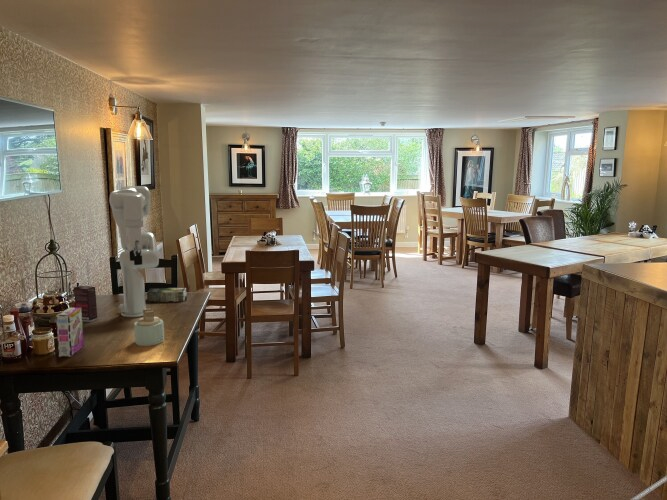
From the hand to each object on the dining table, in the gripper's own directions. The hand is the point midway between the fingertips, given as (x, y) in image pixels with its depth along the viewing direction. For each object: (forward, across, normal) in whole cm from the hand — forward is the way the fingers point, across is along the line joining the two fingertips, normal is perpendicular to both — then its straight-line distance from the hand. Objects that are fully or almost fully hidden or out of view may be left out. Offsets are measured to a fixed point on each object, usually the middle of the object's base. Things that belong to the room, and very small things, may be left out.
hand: (136, 262), depth 209 cm
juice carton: (+31, -42, +23) cm, 57 cm away
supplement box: (+31, -25, -19) cm, 44 cm away
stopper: (+25, +19, 0) cm, 31 cm away
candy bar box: (+30, +16, -28) cm, 44 cm away
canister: (+30, +19, 0) cm, 35 cm away
